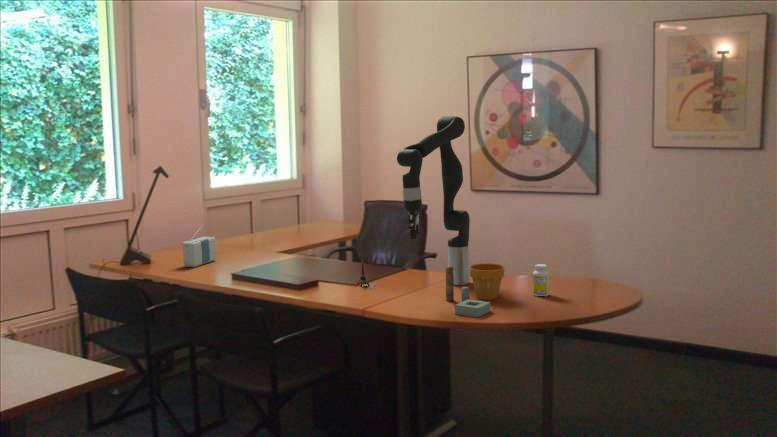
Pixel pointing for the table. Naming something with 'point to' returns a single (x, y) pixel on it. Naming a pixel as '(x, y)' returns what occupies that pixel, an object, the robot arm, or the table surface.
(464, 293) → the short grey peg
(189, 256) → the stereo radio cassette player
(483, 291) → the flower pot
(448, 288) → the walnut peg
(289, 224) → the table surface
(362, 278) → the eiffel tower figurine
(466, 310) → the hole block
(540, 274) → the supplement bottle
